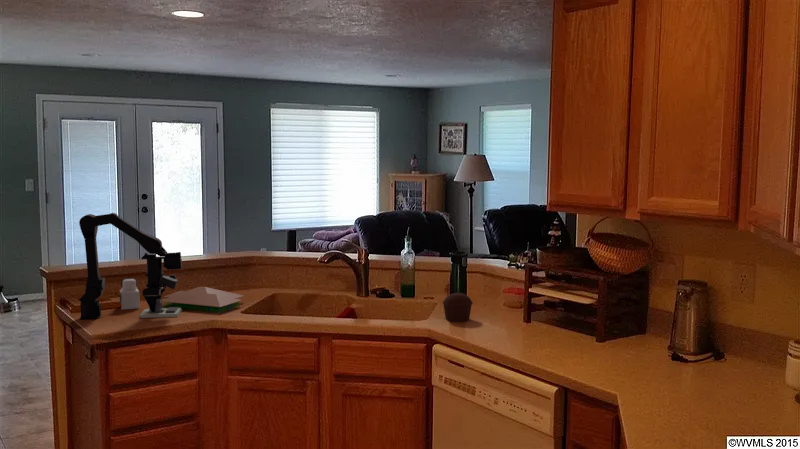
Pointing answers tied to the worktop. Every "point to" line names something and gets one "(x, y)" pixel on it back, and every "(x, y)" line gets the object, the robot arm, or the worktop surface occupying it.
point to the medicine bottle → (129, 294)
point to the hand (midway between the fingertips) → (155, 309)
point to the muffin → (457, 307)
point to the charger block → (157, 307)
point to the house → (204, 298)
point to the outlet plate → (165, 313)
